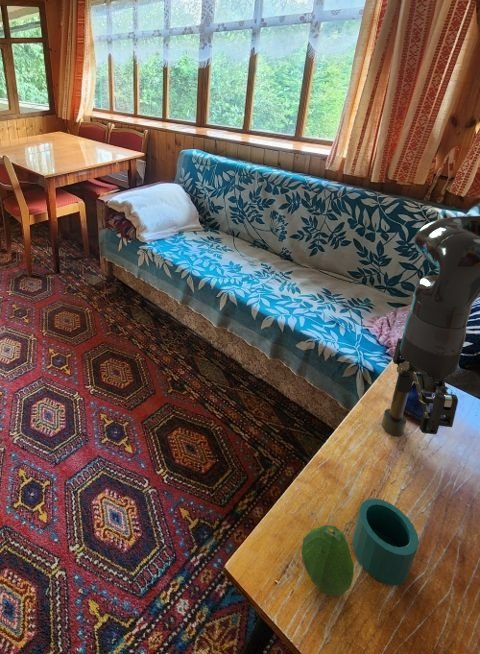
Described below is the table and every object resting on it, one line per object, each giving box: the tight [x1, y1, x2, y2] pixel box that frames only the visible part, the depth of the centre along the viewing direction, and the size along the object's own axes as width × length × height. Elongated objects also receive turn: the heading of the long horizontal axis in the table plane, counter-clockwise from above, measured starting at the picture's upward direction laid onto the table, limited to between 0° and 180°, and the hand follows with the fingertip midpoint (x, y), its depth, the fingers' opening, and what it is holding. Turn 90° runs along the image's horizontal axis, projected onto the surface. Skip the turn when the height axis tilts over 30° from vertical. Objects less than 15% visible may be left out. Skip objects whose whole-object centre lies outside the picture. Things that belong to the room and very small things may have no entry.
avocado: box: [301, 524, 355, 597], centre depth 64 cm, size 8×8×12 cm
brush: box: [381, 377, 410, 437], centre depth 88 cm, size 4×4×16 cm
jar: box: [352, 497, 420, 587], centre depth 67 cm, size 9×9×9 cm
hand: (414, 410), depth 66 cm, fingers open, 8 cm apart
